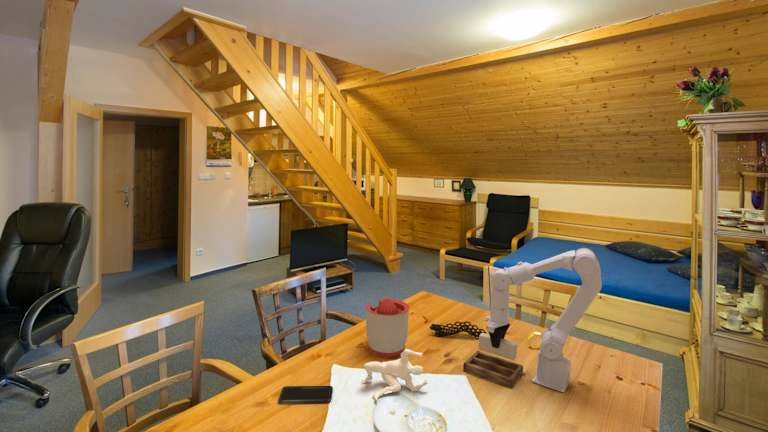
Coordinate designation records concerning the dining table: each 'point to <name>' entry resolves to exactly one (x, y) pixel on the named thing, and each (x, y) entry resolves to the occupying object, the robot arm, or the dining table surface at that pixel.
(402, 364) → the person figurine
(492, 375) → the rack
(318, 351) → the dining table surface
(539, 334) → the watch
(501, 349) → the clay strip
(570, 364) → the robot arm
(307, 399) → the phone
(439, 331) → the decorative element
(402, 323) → the citrus juicer
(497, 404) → the dining table surface
